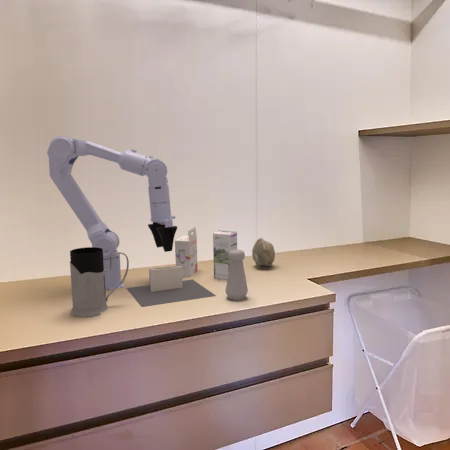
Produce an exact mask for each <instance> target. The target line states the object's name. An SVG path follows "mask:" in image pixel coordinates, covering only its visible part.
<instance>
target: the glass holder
mask: <svg viewBox="0 0 450 450" xmlns="http://www.w3.org/2000/svg"><path fill="white" fill-rule="evenodd" d="M117 254H120V255H122V256H125V258H126V268H125V273H124V275H123V277H122V278H121V282H120V283H119V284H118V285H117V286H116V287H115V288H114V289H111V291H110V292H108V294H107V290H106V286H105V271H109V270H111V268H112V260H113V257H114V256H115V255H117ZM69 257H70V260H69V267H70V282H71V283H70V284H71V300H72V309H71V311H70V313H71V315H72V316H74V317H78V318H90V317H91V318H93V317H97V316H100V315H101V314H102V313H104V312H106V311H108V309H109V306H108V304H107V303H108V299H109V297H110V296H111V295H112V294H113V293H114V292H115V291H116V290H117V289H119V288H118V287H119V286H120V285H121V284H122V283H123V284H124V281H125V280H126V278H127V275H128V272H129V266H130V265H129V262H130V261H129V257H128V256H127V254H125V252H121V251H120V252H119V251H118V252H117V253H115V254H114V255H113V256H112V257H111V260H110V268H109V269H107V270H104V262H103V249H102V248H97V247H92V246H90V247H89V246H88V247H87V246H86V247H79V248H73V249H72V250H69Z"/></svg>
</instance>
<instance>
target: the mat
mask: <svg viewBox="0 0 450 450" xmlns="http://www.w3.org/2000/svg"><path fill="white" fill-rule="evenodd" d="M125 288H126V290H127V291H128V292H129V293H130V295H131V296H132V297H133V298H134V300H135V301H136V302H137V303H138V304H139V306H140V307H141V308H143V307H144V308H145V307H151V306H157V305H158V306H159V305H165V304H166V305H167V304H171V303H179V302H184V301H185V302H186V301H192V300H199V299H205V298H212V297H217V295H216V294H214V293H213V292H212V291H210V290H208V289H207V288H206V287H205V286H203V285H202V284H200V283H199V282H197V281H196V280H194V279H193V278H192V279H184V280H183V288H176V289H169V290H161V291H154V292H151V291H150V284H147V285H138V286H133V287H131V286H130V287H125Z"/></svg>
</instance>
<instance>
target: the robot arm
mask: <svg viewBox="0 0 450 450" xmlns="http://www.w3.org/2000/svg"><path fill="white" fill-rule="evenodd" d="M49 143H50V144H49V146H48V149H47V151H46V154H47V157H48V167H49V171H48V172H49V177H50V180H52V182H53V183H54V185H55V186H56V188H57V189H58V191H59V193H61V195H62V196H63V198H64V199H65V201H66V202H67V204H68V206H69V207H70V208H71V210H72V211H73V212H74V214H75V216H76V217H77V220H79V222H80V223H81V224H82V226H83V228H84V229H85V231H86V234H87V238H88V240H89V242H90V243H91V247H97V248H102V249H103V262H104V270H107V269H109V268H110V260H111V257H112V256H113V255H114V254H115V253H117V252H119V251H118V250H117V249H118V248H119V246H120V238H119V235H118V234H117V233H116V232H114V231H112V230H111V229H110V228H109V227H108V225H107V224H106V223H105V222H104V221H102V219H101V217H100V216H99V215H98V213H97V212H96V209H94V207H93V205H92V204H91V202H90V201H89V199H88V198H87V197H86V194H85V193H84V192H83V190H82V189H81V187H80V185H79V184H78V183H77V181H76V180H75V178H74V177H73V175H72V171H73V168H74V164H75V162H76V161H77V159H78V158H79V157H85V156H86V157H87V156H93V157H96V158H99V159H103V160H105V161H106V160H107V161H109V162H114V163H116V164H118V166H119V168H120V169H121V170H122V171H126V172H129V173H132V174H135V175H138V176H141V177H144V176H146V177H147V178H148V179H147V181H148V188H147V190H148V191H147V192H148V198H149V209H150V222H152V223H149V224H147V226H148V228H149V230H150V231H151V235H152V236H153V239H154V243H155V246H156V248H157V249H158V248H163V251H164V252H165V253H167V252H172V251H173V247H174V241H175V236H176V232H177V230H178V226H177V225H173V224H174V223H173V219H176V215H172V211H171V200H170V199H171V198H170V187H169V184H168V183H169V181H168V177H167V175H168V166H167V164H166V163H165V162H164V161H163V160H160V159H158V158H155V159H154V157H153V156H152V155H149V156H148V155H144V154H141V153H139V152H137V150H136V149H134V148H133V149H131V150H130V149H126V150H123V151H122V152H121V151H118V150H116V149H112V148H109V147H108V146H107V147H106V146H104V145H101V144H98V143H96V142H93V141H89V140H84V139H80V138H79V139H78V138H73V137H67V136H64V135H58V136H56V137H54V138H53V139H52V140H51V141H50V142H49ZM121 270H122V269H121V254H117V255H115V256H114V257H113V260H112V268H111V270H109V271H105V286H106V291H107V290H113V289H114V288H115V287H116V286H117V285H118V284H119V283H120V282H121V281H122V275H121V273H122V272H121ZM122 288H126V286H125V285H124V282H123V283H122V284H121V285H120V286H119V287H118V288H117V289H122Z"/></svg>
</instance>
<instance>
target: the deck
mask: <svg viewBox="0 0 450 450" xmlns="http://www.w3.org/2000/svg"><path fill="white" fill-rule="evenodd" d="M148 273H149V274H148V276H149V277H148V278H149V285H150V291H151V292H154V291H161V290H169V289H176V288H183V281H184V280H183V276H182V266H176V265H175V266H174V265H172V266H166V267H155V268H149V269H148Z"/></svg>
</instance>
